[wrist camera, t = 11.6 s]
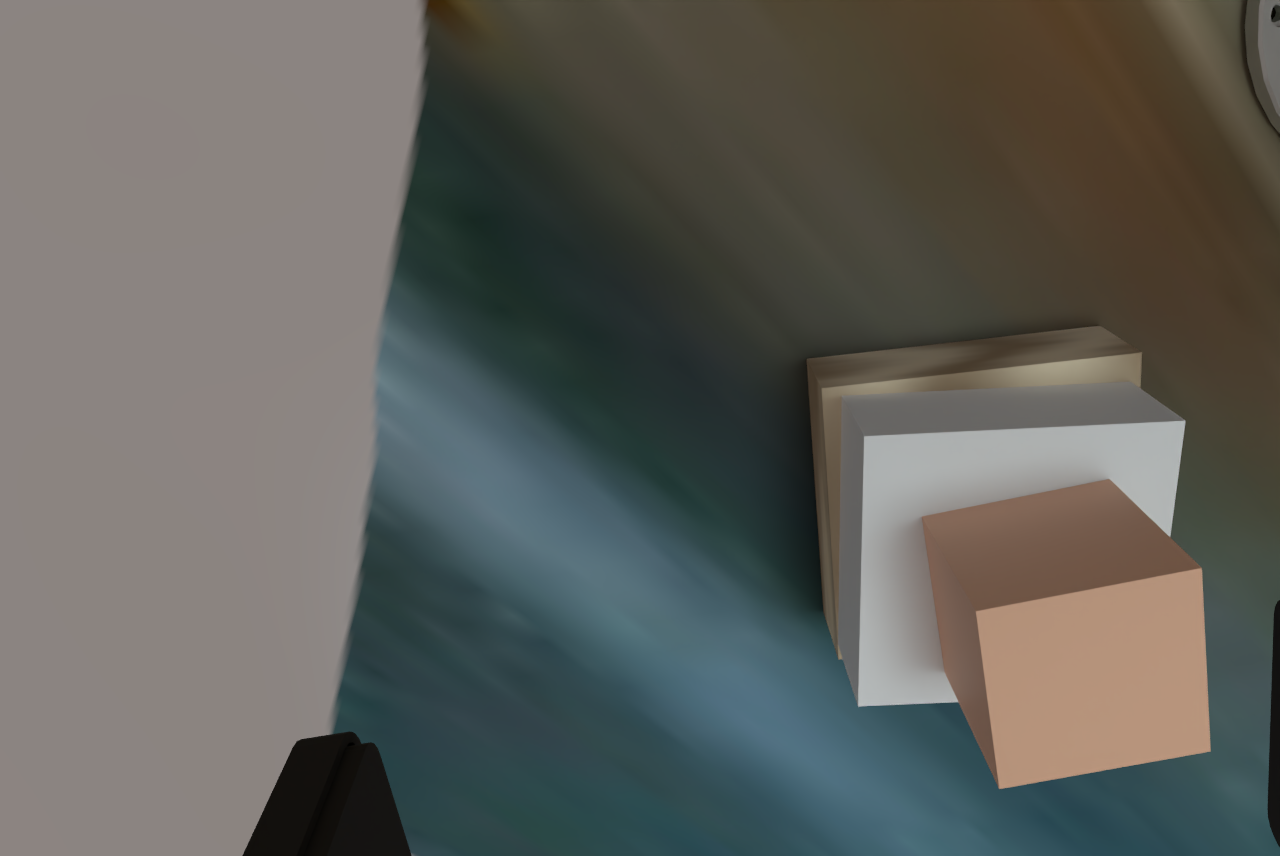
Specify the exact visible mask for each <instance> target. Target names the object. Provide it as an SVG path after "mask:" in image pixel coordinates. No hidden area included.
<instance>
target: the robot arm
mask: <svg viewBox="0 0 1280 856" xmlns="http://www.w3.org/2000/svg"><path fill="white" fill-rule="evenodd" d="M1273 7H1274V8H1275V10H1276V15H1275V17H1274V18H1273V20H1271V12H1272V9H1273ZM1245 37H1246V51H1247V63H1248V67H1249V70H1250V74H1251V78H1252V81H1253V85H1254V89H1255V92H1256V96H1257V98H1258V99H1259V101H1260V103H1261V105H1262V107H1263V109H1264V111H1265V113H1266V115H1267V116H1268V118H1269V120H1270V122H1271V124H1272V125H1273V126H1274V128H1275V129H1276V130H1277V131H1278V132H1279V133H1280V0H1248V2H1247V11H1246V20H1245ZM1268 818H1269V823H1270V827H1271V830H1272V832H1273V835H1274V837H1275V839H1276V841H1277V843H1278V845H1279V847H1280V600H1279V601H1278V602H1277V604H1276V606H1275V611H1274V630H1273V660H1272V691H1271V722H1270V753H1269V783H1268ZM243 856H411V853H410V849H409V846H408V843H407V840H406V836H405V833H404V830H403V827H402V824H401V820H400V817H399V814H398V811H397V808H396V804H395V801H394V798H393V795H392V791H391V788H390V785H389V782H388V779H387V775H386V772H385V769H384V766H383V763H382V759H381V756H380V753H379V751H378V748H377V747H376V745H375V744H374V743H364V744H361V742H360V740H359V738H358V737H357V735H356V734H355V733H353V732H344V733H338V734H332V735H326V736H319V737H313V738H307V739H301V740H299V741H297V742H296V744H295V745H294V747H293V748H292V751H291V753H290V755H289V757H288V759H287V761H286V764H285V766H284V768H283V770H282V772H281V774H280V776H279V779H278V781H277V783H276V785H275V787H274V789H273V791H272V793H271V796H270V798H269V800H268V802H267V804H266V806H265V808H264V811H263V813H262V815H261V817H260V819H259V822H258V824H257V826H256V828H255V830H254V832H253V834H252V837H251V839H250V841H249V843H248V845H247V847H246V849H245V851H244V854H243Z"/></svg>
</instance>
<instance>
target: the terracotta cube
mask: <svg viewBox="0 0 1280 856" xmlns="http://www.w3.org/2000/svg"><path fill="white" fill-rule="evenodd" d="M922 522H923V529H924V536H925V543H926V549H927V556H928V563H929V570H930V576H931V583H932V590H933V597H934V603H935V610H936V617H937V624H938V631H939V637H940V644H941V651H942V658H943V664H944V671H945V674H946V676H947V678H948V681H949V683H950V685H951V687H952V689H953V691H954V693H955V695H956V698H957V700H958V702H959V704H960V706H961V708H962V710H963V713H964V715H965V717H966V719H967V721H968V723H969V725H970V727H971V730H972V732H973V734H974V736H975V738H976V740H977V742H978V745H979V747H980V749H981V751H982V753H983V755H984V757H985V759H986V762H987V764H988V766H989V768H990V770H991V772H992V774H993V776H994V779H995V781H996V783H997V785H998V787H999V789H1002V788H1008V787H1014V786H1019V785H1025V784H1030V783H1036V782H1042V781H1047V780H1053V779H1058V778H1064V777H1070V776H1075V775H1081V774H1086V773H1092V772H1098V771H1103V770H1109V769H1114V768H1120V767H1126V766H1131V765H1137V764H1142V763H1148V762H1154V761H1159V760H1165V759H1170V758H1176V757H1182V756H1187V755H1193V754H1198V753H1204V752H1210V751H1211V750H1210V729H1209V709H1208V688H1207V667H1206V646H1205V625H1204V604H1203V583H1202V568H1201V567H1200V566H1199V565H1198V564H1197V563H1196V562H1195V561H1194V560H1193V559H1192V558H1191V557H1190V556H1189V555H1188V554H1187V553H1186V552H1185V551H1184V550H1183V549H1182V548H1181V547H1180V546H1178V545H1177V544H1176V543H1175V542H1174V541H1173V540H1172V539H1171V538H1170V537H1169V536H1168V535H1167V534H1166V533H1165V532H1164V531H1163V530H1162V529H1161V528H1160V527H1159V526H1158V525H1157V524H1156V523H1155V522H1154V521H1153V520H1152V519H1151V518H1149V517H1148V516H1147V515H1146V514H1145V513H1144V512H1143V511H1142V510H1141V509H1140V508H1139V507H1138V506H1137V505H1136V504H1135V503H1134V502H1133V501H1132V500H1131V499H1130V498H1129V497H1128V496H1127V495H1126V494H1125V493H1124V492H1123V491H1122V490H1120V489H1119V488H1118V487H1117V486H1116V485H1115V484H1114V483H1113V482H1112V481H1111V480H1110V479H1107V480H1102V481H1097V482H1092V483H1087V484H1082V485H1077V486H1072V487H1067V488H1062V489H1057V490H1052V491H1047V492H1042V493H1037V494H1032V495H1027V496H1022V497H1017V498H1012V499H1007V500H1002V501H997V502H992V503H987V504H982V505H977V506H972V507H967V508H962V509H957V510H952V511H947V512H942V513H937V514H932V515H927V516H922Z"/></svg>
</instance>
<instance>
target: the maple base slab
mask: <svg viewBox="0 0 1280 856" xmlns="http://www.w3.org/2000/svg"><path fill="white" fill-rule="evenodd" d="M1141 362H1142V352H1140V351H1139V350H1137V349H1136V348H1134V347H1133V346H1131V345H1129V344H1128V343H1126V342H1125V341H1123V340H1122V339H1120V338H1119V337H1117V336H1115V335H1114V334H1112V333H1111V332H1109V331H1108V330H1106V329H1105V328H1103V327H1101V326H1093V327H1084V328H1075V329H1066V330H1057V331H1049V332H1040V333H1031V334H1022V335H1013V336H1004V337H996V338H987V339H978V340H969V341H960V342H951V343H942V344H934V345H925V346H916V347H907V348H898V349H889V350H880V351H872V352H863V353H854V354H845V355H836V356H827V357H819V358H810V359H807V372H808V387H809V402H810V417H811V432H812V447H813V462H814V477H815V492H816V507H817V521H818V536H819V551H820V566H821V581H822V596H823V611H824V615H825V618H826V621H827V625H828V628H829V631H830V634H831V637H832V640H833V643H834V647H835V650H836V653H837V656H838V659H843V658H842V655H841V652H840V649H839V646H838V608H839V539H840V472H841V404H842V396H844V395H864V394H885V393H905V392H926V391H947V390H967V389H988V388H1008V387H1029V386H1049V385H1070V384H1090V383H1111V382H1132V383H1133V384H1135V385H1136V386H1138V387H1139V388H1140V384H1141Z"/></svg>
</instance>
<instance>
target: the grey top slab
mask: <svg viewBox="0 0 1280 856" xmlns="http://www.w3.org/2000/svg"><path fill="white" fill-rule="evenodd" d="M1184 429H1185V420H1184V419H1182V418H1181V417H1180V416H1178V415H1177V414H1175V413H1174V412H1173V411H1171V410H1170V409H1168V408H1167V407H1166V406H1164V405H1163V404H1161V403H1160V402H1159V401H1157V400H1156V399H1154V398H1153V397H1152V396H1150V395H1149V394H1147V393H1146V392H1145V391H1143V390H1142V389H1140V388H1139V387H1138V386H1136V385H1135V384H1133V383H1132V382H1111V383H1090V384H1070V385H1049V386H1029V387H1008V388H988V389H967V390H947V391H926V392H905V393H885V394H864V395H844V396H842V404H841V472H840V539H839V608H838V646H839V649H840V652H841V655H842V658H843V661H844V665H845V668H846V671H847V674H848V677H849V680H850V683H851V686H852V689H853V692H854V695H855V698H856V702H857V705H858V706H878V705H901V704H923V703H946V702H958V700H957V698H956V695H955V693H954V691H953V689H952V687H951V685H950V683H949V681H948V678H947V676H946V674H945V671H944V664H943V658H942V651H941V644H940V637H939V631H938V624H937V617H936V610H935V603H934V597H933V590H932V583H931V576H930V570H929V563H928V556H927V549H926V543H925V536H924V529H923V522H922V516H927V515H932V514H937V513H942V512H947V511H952V510H957V509H962V508H967V507H972V506H977V505H982V504H987V503H992V502H997V501H1002V500H1007V499H1012V498H1017V497H1022V496H1027V495H1032V494H1037V493H1042V492H1047V491H1052V490H1057V489H1062V488H1067V487H1072V486H1077V485H1082V484H1087V483H1092V482H1097V481H1102V480H1107V479H1110V480H1111V481H1112V482H1113V483H1114V484H1115V485H1116V486H1117V487H1118V488H1119V489H1120V490H1122V491H1123V492H1124V493H1125V494H1126V495H1127V496H1128V497H1129V498H1130V499H1131V500H1132V501H1133V502H1134V503H1135V504H1136V505H1137V506H1138V507H1139V508H1140V509H1141V510H1142V511H1143V512H1144V513H1145V514H1146V515H1147V516H1148V517H1149V518H1151V519H1152V520H1153V521H1154V522H1155V523H1156V524H1157V525H1158V526H1159V527H1160V528H1161V529H1162V530H1163V531H1164V532H1165V533H1166V534H1167V535H1168V536H1169V537H1170V534H1171V526H1172V519H1173V511H1174V504H1175V496H1176V489H1177V481H1178V474H1179V466H1180V459H1181V451H1182V444H1183V436H1184Z"/></svg>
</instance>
